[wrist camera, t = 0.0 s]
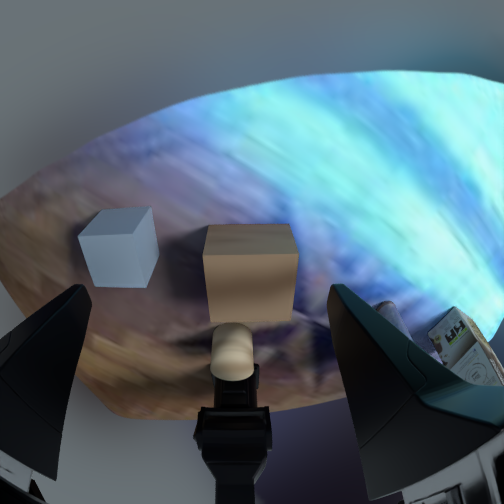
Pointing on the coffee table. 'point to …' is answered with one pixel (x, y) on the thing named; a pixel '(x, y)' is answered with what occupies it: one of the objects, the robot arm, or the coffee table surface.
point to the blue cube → (121, 247)
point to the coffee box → (466, 350)
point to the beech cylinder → (232, 352)
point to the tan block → (250, 272)
